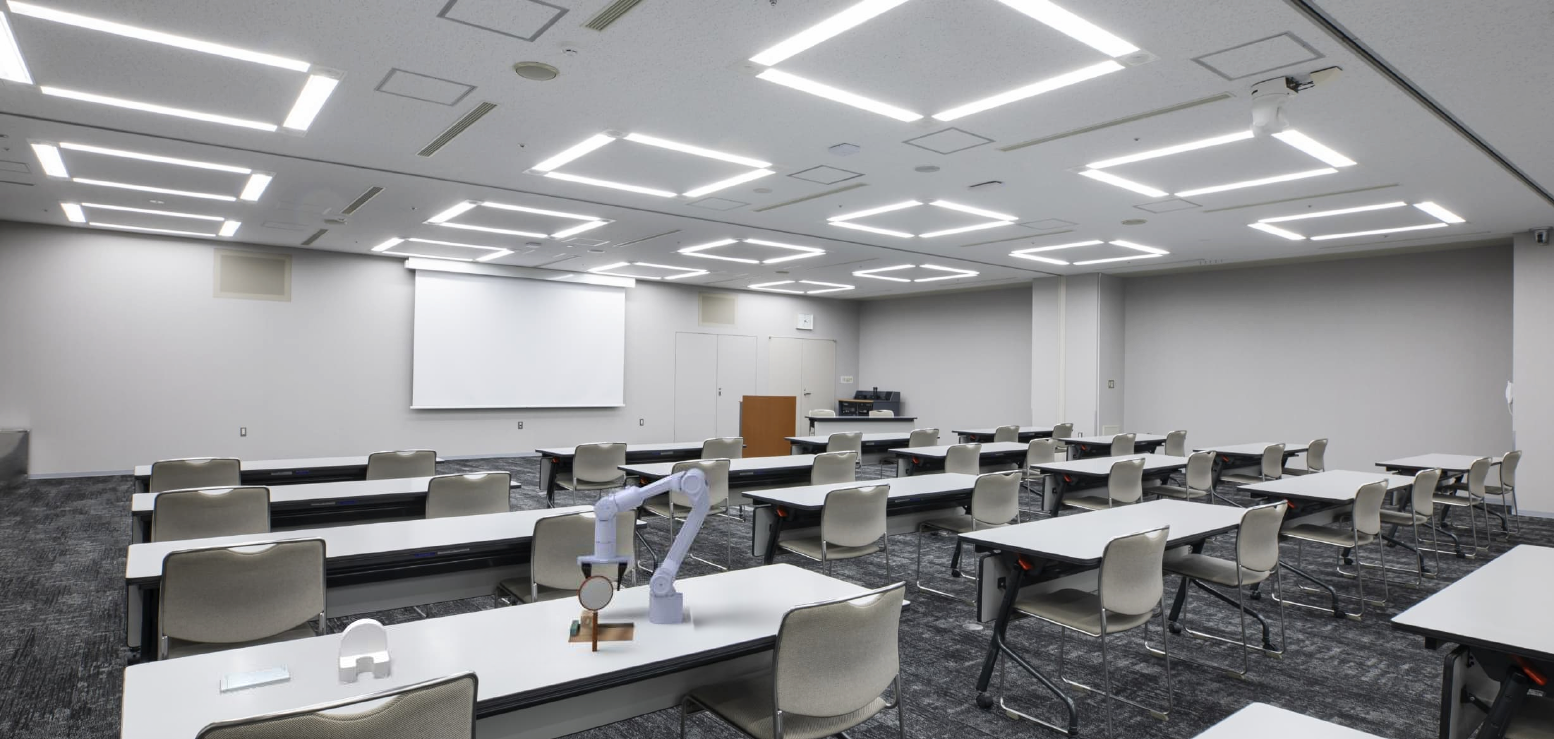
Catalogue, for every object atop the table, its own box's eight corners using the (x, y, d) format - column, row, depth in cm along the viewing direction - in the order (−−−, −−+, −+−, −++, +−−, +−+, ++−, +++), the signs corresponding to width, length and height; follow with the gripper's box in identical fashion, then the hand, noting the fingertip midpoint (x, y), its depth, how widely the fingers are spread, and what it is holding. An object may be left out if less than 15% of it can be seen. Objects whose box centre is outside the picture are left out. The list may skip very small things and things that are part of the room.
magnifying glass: (577, 660, 185) (579, 577, 185) (575, 658, 187) (577, 576, 187) (612, 655, 189) (614, 574, 189) (610, 653, 191) (612, 572, 191)
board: (633, 631, 206) (634, 618, 206) (632, 646, 196) (632, 632, 196) (572, 633, 204) (573, 619, 204) (567, 648, 193) (568, 634, 193)
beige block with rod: (598, 626, 205) (598, 607, 205) (595, 638, 196) (595, 619, 196) (582, 626, 205) (583, 607, 205) (579, 639, 195) (579, 619, 195)
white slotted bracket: (340, 685, 169) (341, 636, 169) (338, 657, 184) (339, 612, 184) (388, 677, 173) (390, 629, 173) (383, 651, 189) (384, 607, 189)
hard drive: (287, 664, 176) (220, 676, 169) (290, 676, 169) (220, 689, 162) (287, 671, 176) (220, 683, 169) (289, 684, 169) (220, 696, 162)
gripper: (576, 544, 207) (575, 594, 207) (631, 544, 209) (630, 593, 209) (579, 538, 213) (578, 587, 213) (632, 538, 216) (631, 586, 216)
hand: (604, 590), depth 212 cm, fingers open, 7 cm apart
